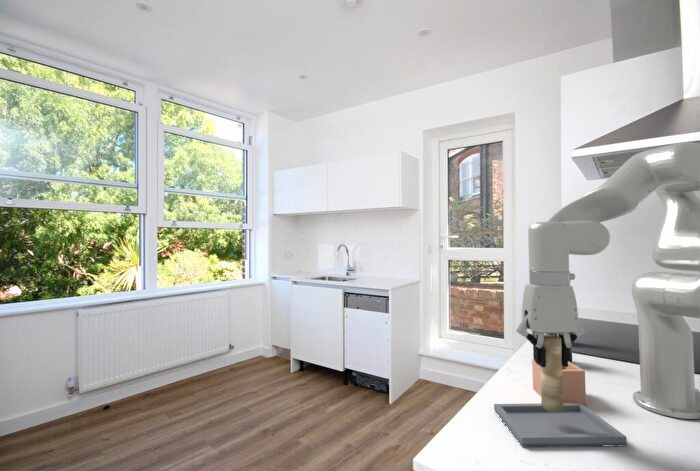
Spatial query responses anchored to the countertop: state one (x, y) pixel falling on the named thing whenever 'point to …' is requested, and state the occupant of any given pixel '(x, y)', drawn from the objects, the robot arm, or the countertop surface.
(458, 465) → the countertop surface
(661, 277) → the robot arm
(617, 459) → the countertop surface
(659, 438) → the countertop surface
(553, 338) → the dowel
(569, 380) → the deep cup
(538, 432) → the tray
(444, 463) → the countertop surface
